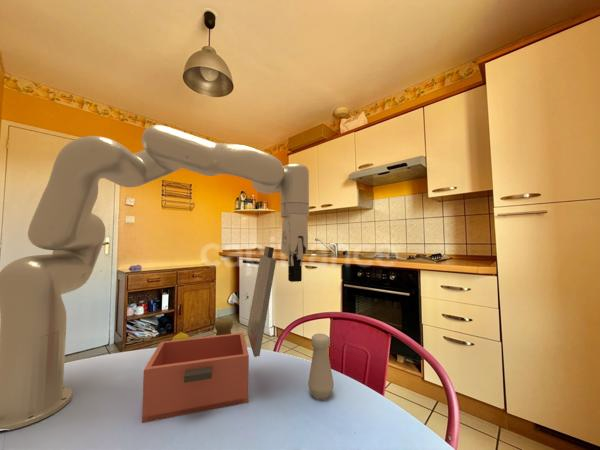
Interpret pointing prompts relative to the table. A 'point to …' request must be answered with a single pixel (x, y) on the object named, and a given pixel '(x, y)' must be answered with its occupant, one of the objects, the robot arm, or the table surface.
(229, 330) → the cork
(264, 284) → the grey box lid
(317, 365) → the salt shaker
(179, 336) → the lemon
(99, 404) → the table surface
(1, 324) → the robot arm
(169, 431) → the table surface
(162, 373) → the orange wooden open box
